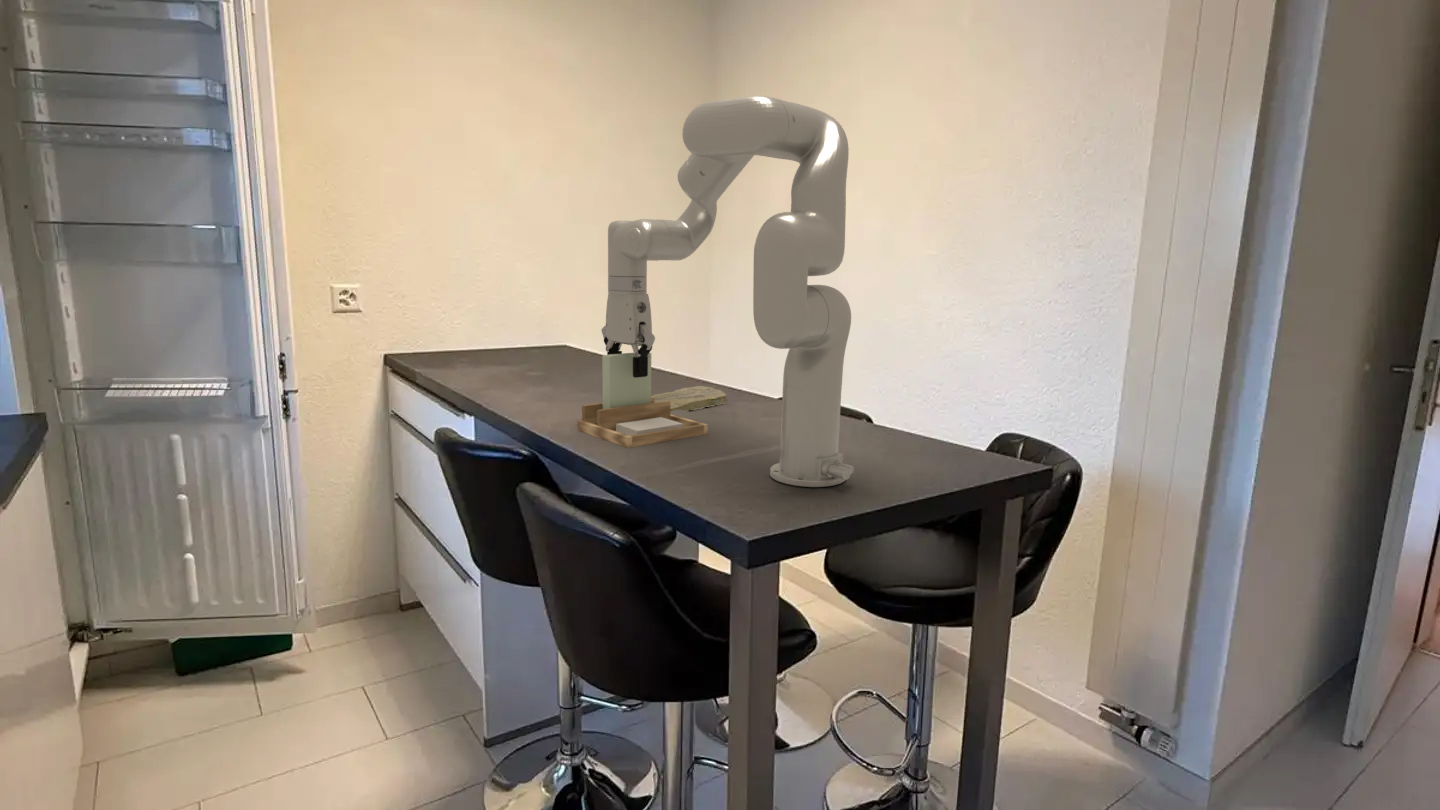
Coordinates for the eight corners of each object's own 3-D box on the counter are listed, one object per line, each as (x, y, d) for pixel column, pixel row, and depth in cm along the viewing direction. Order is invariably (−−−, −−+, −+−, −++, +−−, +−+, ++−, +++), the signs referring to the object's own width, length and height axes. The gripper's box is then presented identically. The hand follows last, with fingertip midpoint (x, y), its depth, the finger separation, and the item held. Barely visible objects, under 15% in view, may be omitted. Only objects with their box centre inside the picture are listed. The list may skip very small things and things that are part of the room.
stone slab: (739, 390, 196) (656, 402, 172) (738, 407, 196) (656, 421, 173) (700, 383, 203) (616, 394, 180) (700, 399, 204) (616, 412, 180)
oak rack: (707, 439, 156) (708, 409, 155) (627, 453, 144) (627, 421, 143) (655, 423, 169) (655, 396, 168) (577, 435, 156) (577, 405, 155)
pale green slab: (650, 430, 163) (651, 353, 159) (609, 437, 156) (609, 356, 153) (643, 428, 164) (644, 351, 161) (602, 434, 158) (602, 355, 155)
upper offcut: (682, 433, 155) (683, 423, 155) (637, 441, 148) (637, 430, 148) (661, 426, 160) (661, 417, 160) (615, 433, 153) (616, 423, 153)
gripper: (669, 287, 151) (668, 378, 154) (618, 283, 163) (618, 366, 167) (637, 288, 146) (636, 381, 149) (587, 283, 159) (587, 369, 162)
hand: (627, 373), depth 158 cm, fingers open, 8 cm apart
